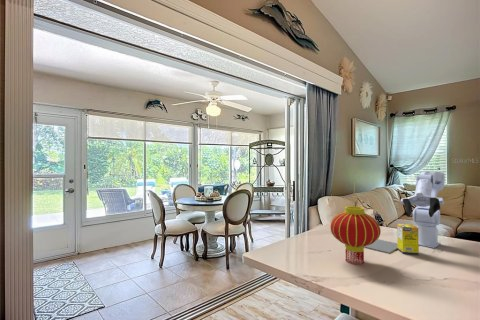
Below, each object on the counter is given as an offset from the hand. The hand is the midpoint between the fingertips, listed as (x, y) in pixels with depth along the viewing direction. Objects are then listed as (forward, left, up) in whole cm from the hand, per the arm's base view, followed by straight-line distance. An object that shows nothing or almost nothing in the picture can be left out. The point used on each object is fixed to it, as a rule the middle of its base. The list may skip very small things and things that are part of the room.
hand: (418, 214), depth 104 cm
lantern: (+24, -14, -17) cm, 32 cm away
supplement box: (-3, -5, -17) cm, 18 cm away
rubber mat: (-3, -16, -16) cm, 23 cm away
